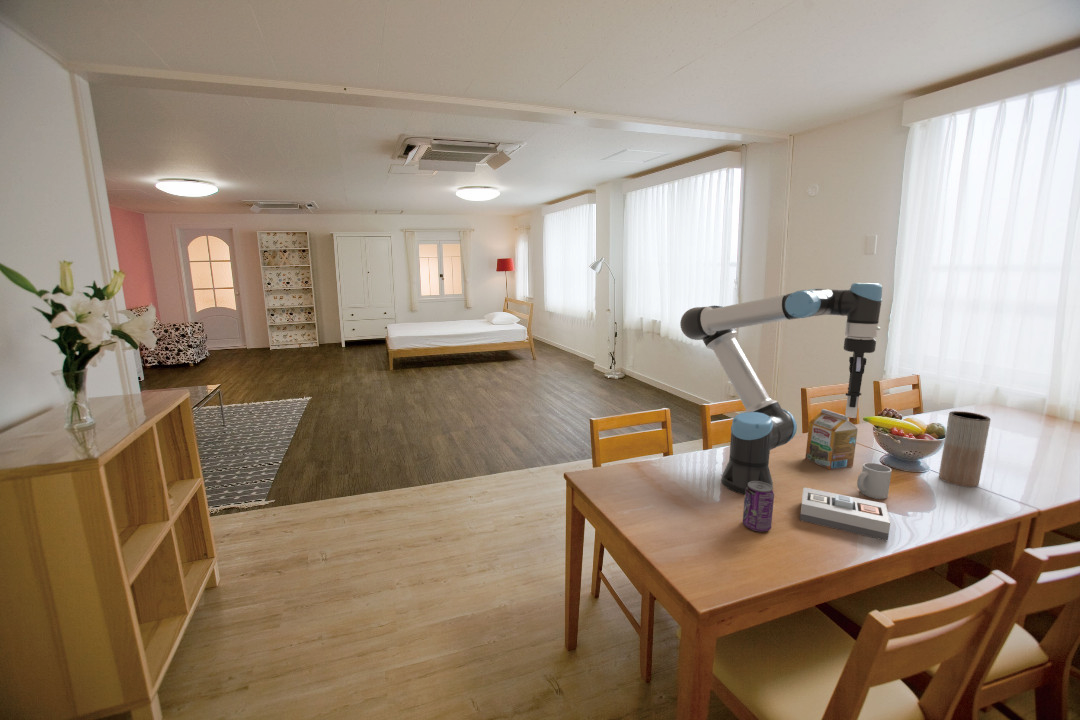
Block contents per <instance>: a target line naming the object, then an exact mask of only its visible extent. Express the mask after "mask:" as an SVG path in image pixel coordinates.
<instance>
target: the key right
mask: <svg viewBox="0 0 1080 720" xmlns="http://www.w3.org/2000/svg"><path fill="white" fill-rule="evenodd" d="M860 511H861V512H866V513H870V514H875V515H879V510H878V508H877V507H872V506H867V505H862V504H860Z"/></svg>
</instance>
